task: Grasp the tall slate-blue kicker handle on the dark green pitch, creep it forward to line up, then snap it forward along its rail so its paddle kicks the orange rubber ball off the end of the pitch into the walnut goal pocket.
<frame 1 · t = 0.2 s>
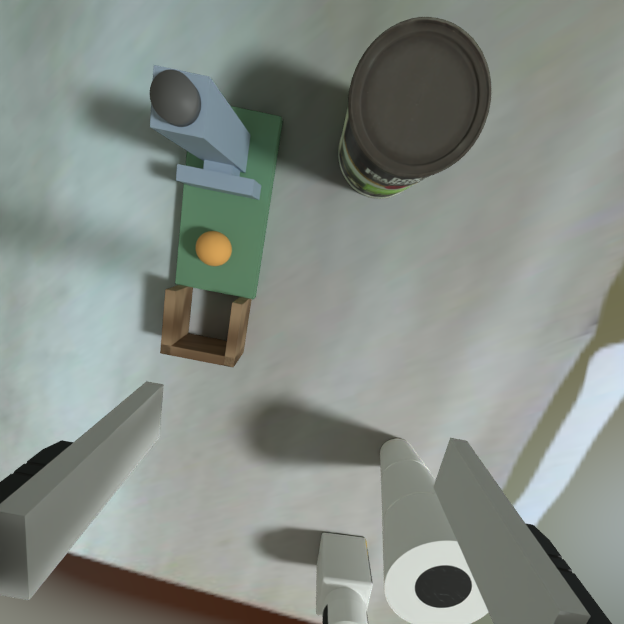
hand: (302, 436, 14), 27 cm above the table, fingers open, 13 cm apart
ball: (213, 248, 36), point 3 cm above the table, touching pitch
pitch: (228, 206, 38), on the table
medicine bottle: (340, 549, 51), on the table
goal: (214, 318, 41), on the table
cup: (396, 451, 46), on the table
kicker: (207, 145, 28), point 9 cm above the table, slide at 0.0 cm
coffee can: (381, 152, 36), on the table
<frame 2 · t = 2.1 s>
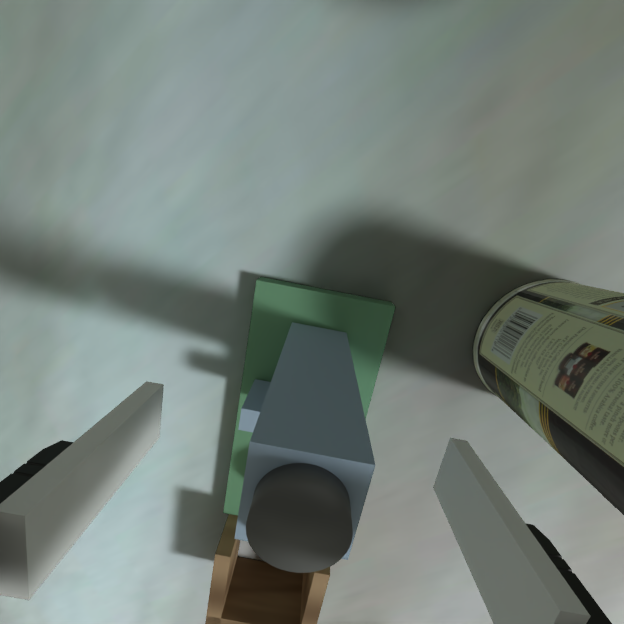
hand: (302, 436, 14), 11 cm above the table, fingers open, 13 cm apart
pitch: (301, 410, 26), on the table
goal: (274, 541, 30), on the table
kicker: (305, 426, 16), point 9 cm above the table, slide at 0.0 cm
coffee can: (539, 343, 24), on the table
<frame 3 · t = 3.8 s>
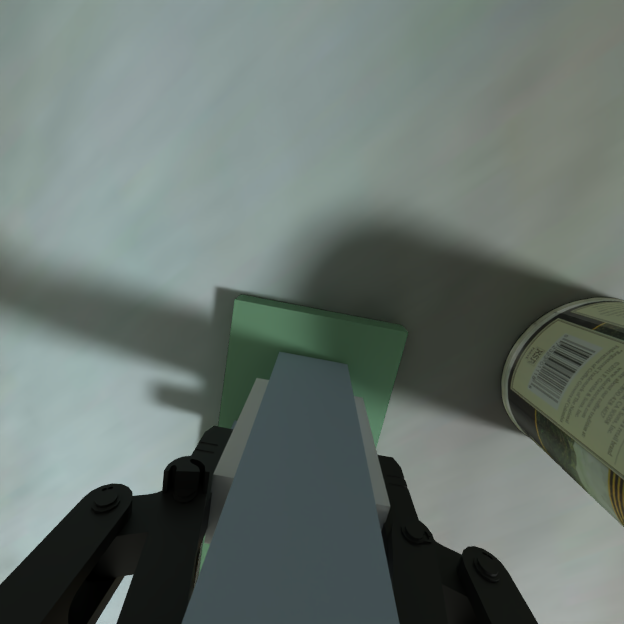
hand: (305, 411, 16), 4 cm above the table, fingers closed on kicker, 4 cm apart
pitch: (292, 453, 21), on the table
kicker: (292, 506, 12), point 9 cm above the table, slide at 0.0 cm, touching gripper
coffee can: (580, 374, 20), on the table
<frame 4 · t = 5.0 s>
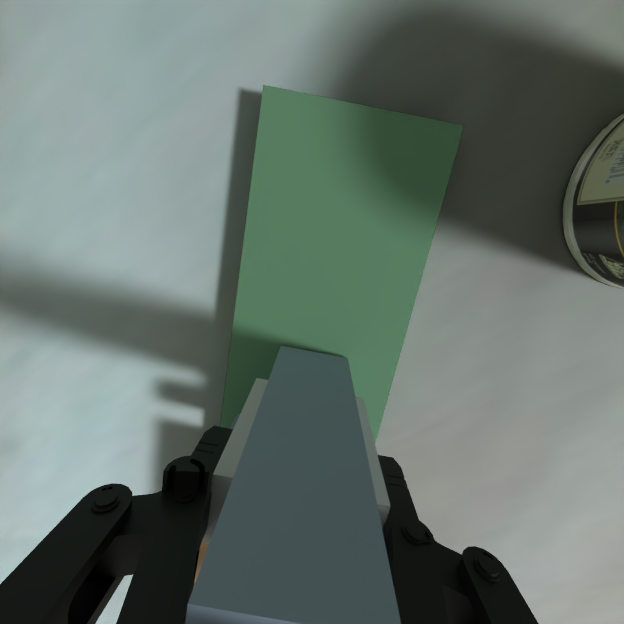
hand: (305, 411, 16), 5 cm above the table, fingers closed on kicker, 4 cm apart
pitch: (322, 304, 19), on the table
kicker: (294, 494, 12), point 9 cm above the table, slide at 10.5 cm, touching gripper
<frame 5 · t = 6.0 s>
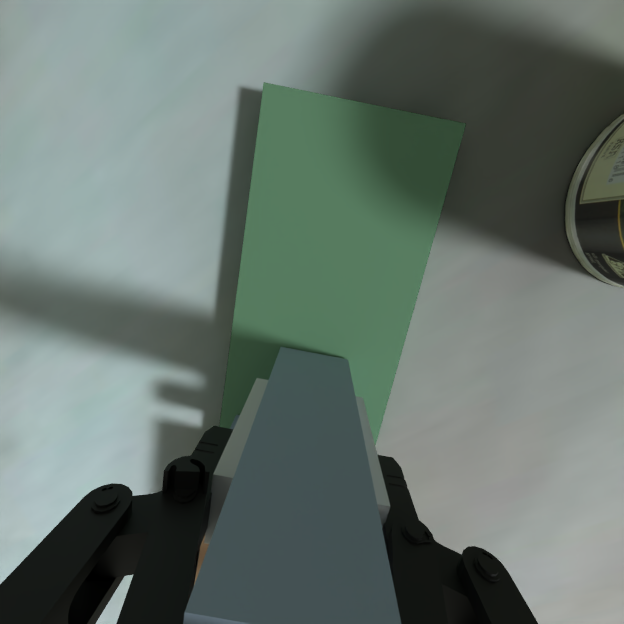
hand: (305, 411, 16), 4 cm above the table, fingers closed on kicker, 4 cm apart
pitch: (323, 303, 19), on the table
kicker: (294, 497, 12), point 9 cm above the table, slide at 10.6 cm, touching gripper
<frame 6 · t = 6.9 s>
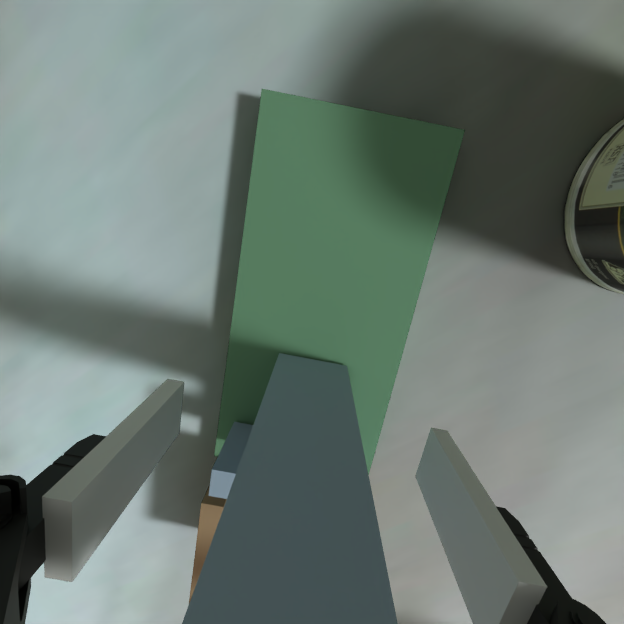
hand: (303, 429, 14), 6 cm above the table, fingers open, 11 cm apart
pitch: (321, 309, 19), on the table
goal: (283, 500, 22), on the table
kicker: (292, 508, 12), point 9 cm above the table, slide at 10.6 cm
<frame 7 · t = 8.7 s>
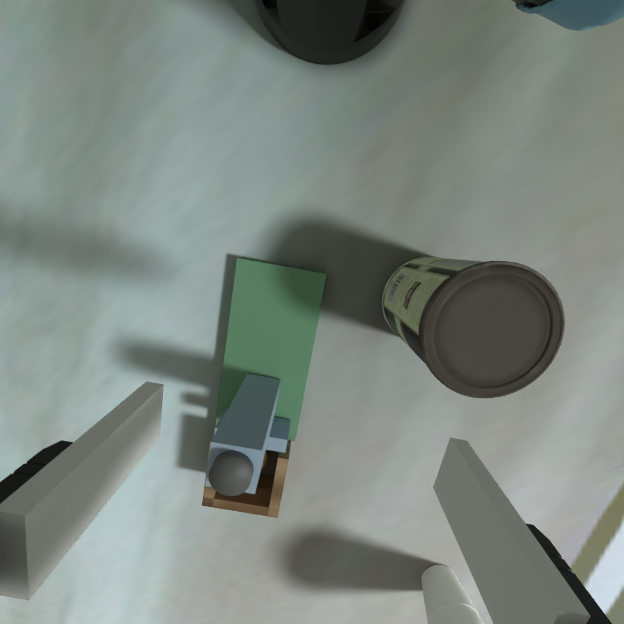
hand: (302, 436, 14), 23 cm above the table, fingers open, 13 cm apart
pitch: (269, 351, 38), on the table
goal: (253, 454, 41), on the table
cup: (437, 576, 45), on the table
kicker: (247, 436, 30), point 9 cm above the table, slide at 10.6 cm
coffee can: (424, 299, 36), on the table
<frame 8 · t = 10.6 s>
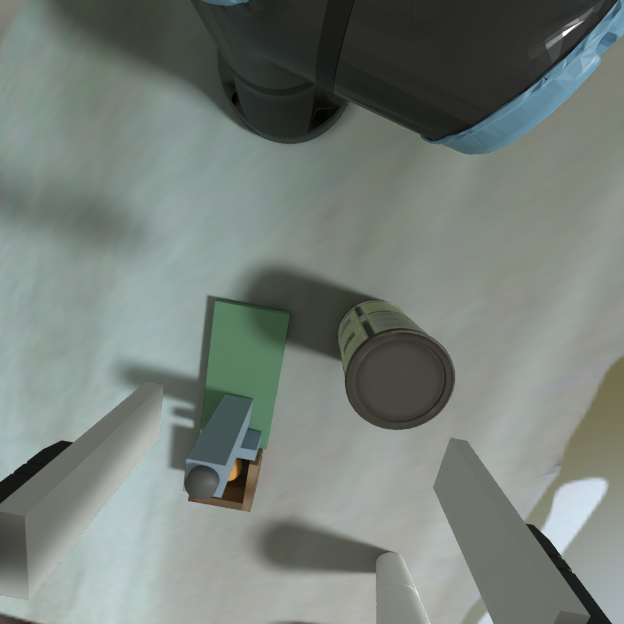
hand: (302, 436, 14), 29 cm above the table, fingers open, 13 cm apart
ball: (228, 465, 46), point 2 cm above the table, tilted 117°
pitch: (244, 374, 45), on the table
goal: (232, 458, 48), on the table
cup: (389, 562, 53), on the table
kicker: (221, 449, 38), point 9 cm above the table, slide at 10.6 cm
coffee can: (374, 334, 43), on the table
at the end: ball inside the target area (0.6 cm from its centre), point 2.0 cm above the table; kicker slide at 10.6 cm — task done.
